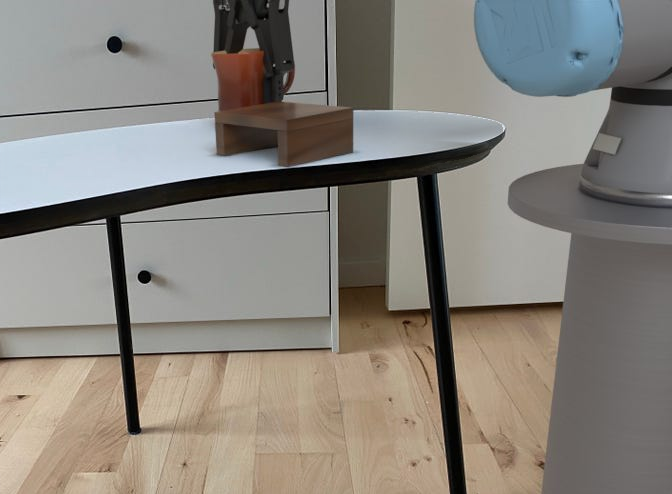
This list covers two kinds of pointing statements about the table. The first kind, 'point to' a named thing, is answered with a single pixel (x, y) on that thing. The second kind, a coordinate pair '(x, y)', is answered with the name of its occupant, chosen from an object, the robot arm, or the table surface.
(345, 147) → the shelf
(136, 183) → the table surface
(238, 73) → the mug
